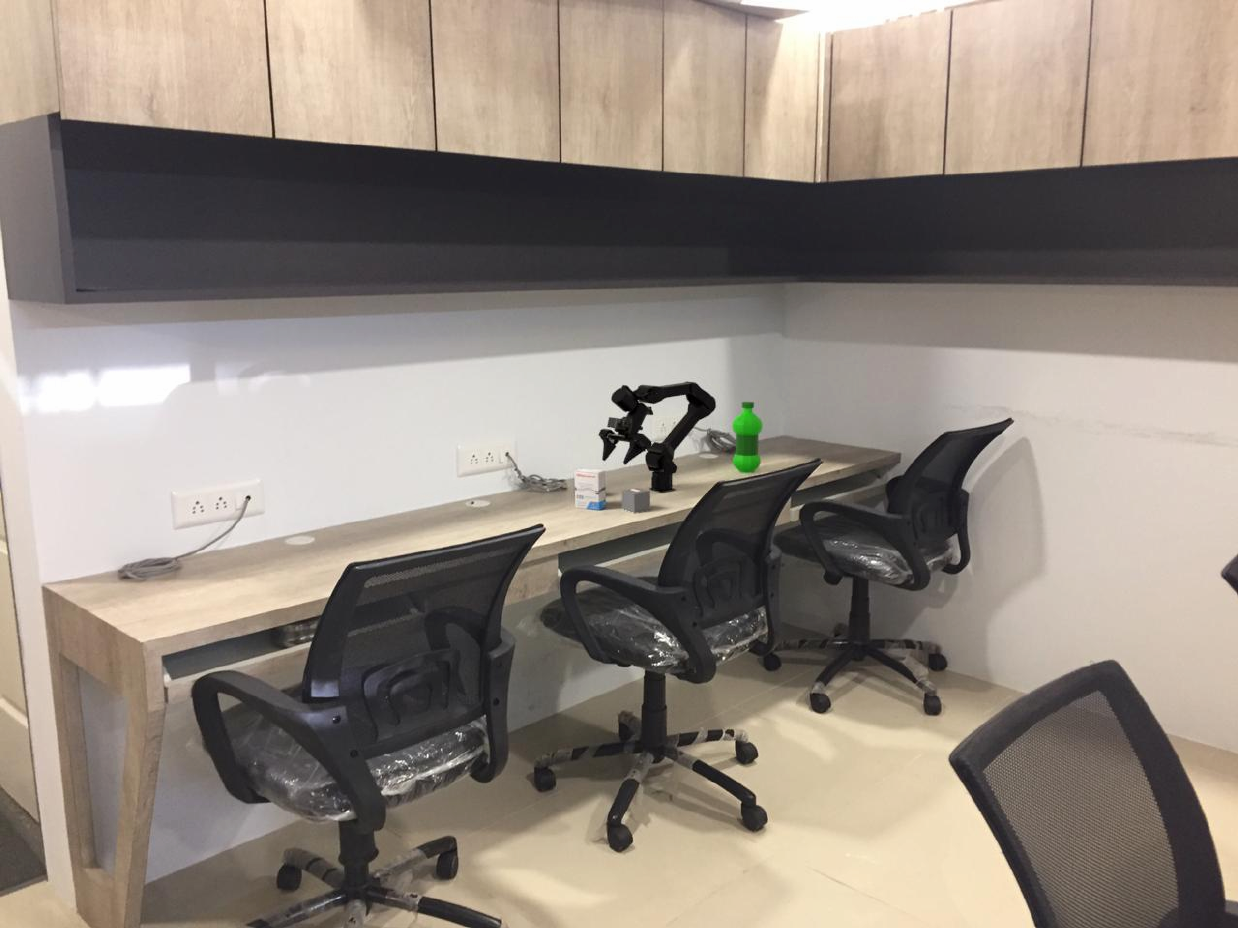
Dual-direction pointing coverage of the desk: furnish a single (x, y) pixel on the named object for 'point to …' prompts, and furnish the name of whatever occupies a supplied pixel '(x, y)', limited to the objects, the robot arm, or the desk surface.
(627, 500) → the marked block 2
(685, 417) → the robot arm
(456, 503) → the desk surface
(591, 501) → the ink box
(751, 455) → the plastic bottle
